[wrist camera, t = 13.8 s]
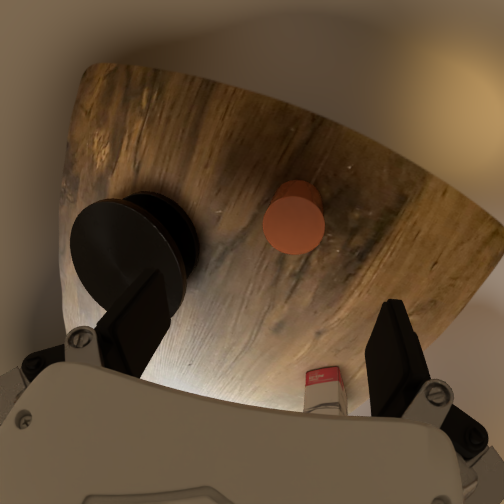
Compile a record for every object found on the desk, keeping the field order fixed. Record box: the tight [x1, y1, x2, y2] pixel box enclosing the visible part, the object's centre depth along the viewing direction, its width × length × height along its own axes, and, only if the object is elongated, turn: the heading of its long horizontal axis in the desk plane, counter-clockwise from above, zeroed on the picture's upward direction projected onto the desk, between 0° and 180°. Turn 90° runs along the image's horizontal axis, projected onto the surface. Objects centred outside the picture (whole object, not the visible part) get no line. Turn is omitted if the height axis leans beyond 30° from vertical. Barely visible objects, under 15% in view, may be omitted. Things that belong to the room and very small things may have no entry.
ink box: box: [303, 367, 347, 416], centre depth 32 cm, size 9×5×12 cm, turn 22°
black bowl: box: [70, 191, 199, 318], centre depth 29 cm, size 14×14×7 cm
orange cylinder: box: [263, 180, 325, 255], centre depth 24 cm, size 5×5×6 cm
